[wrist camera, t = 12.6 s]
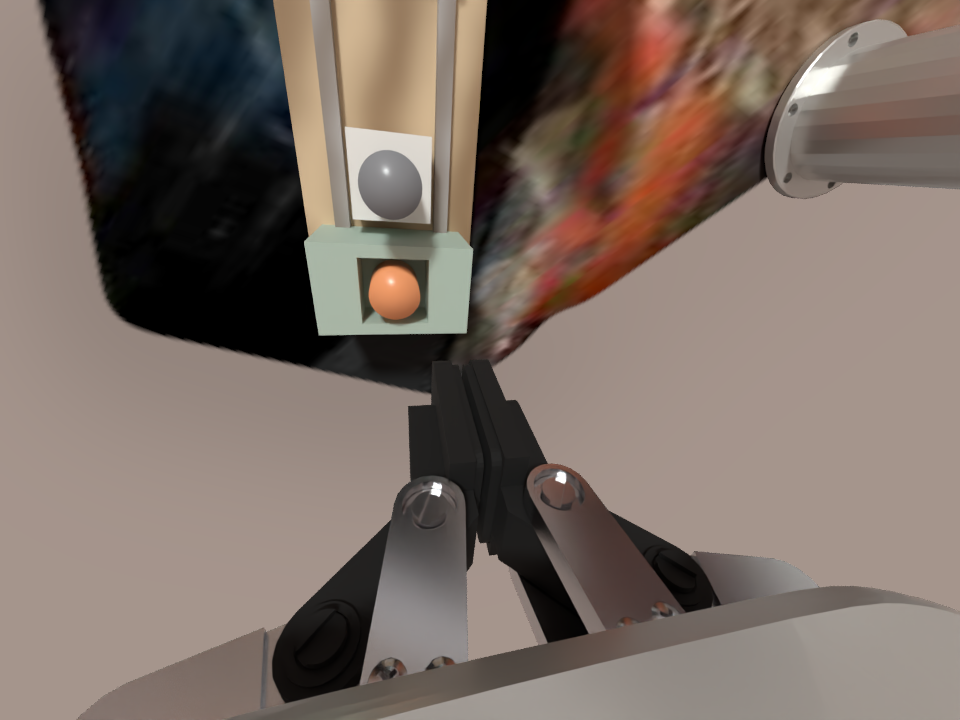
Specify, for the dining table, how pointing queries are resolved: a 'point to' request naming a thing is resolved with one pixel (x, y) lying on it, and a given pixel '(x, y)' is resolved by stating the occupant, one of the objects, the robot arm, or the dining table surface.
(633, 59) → the dining table surface
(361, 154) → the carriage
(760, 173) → the dining table surface
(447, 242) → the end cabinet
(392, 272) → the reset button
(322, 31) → the track
